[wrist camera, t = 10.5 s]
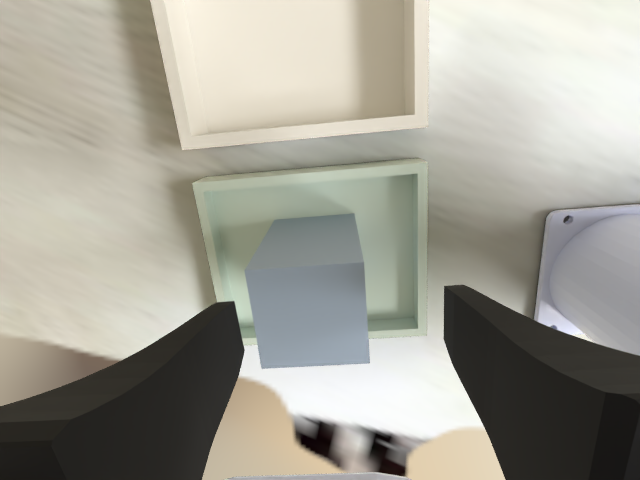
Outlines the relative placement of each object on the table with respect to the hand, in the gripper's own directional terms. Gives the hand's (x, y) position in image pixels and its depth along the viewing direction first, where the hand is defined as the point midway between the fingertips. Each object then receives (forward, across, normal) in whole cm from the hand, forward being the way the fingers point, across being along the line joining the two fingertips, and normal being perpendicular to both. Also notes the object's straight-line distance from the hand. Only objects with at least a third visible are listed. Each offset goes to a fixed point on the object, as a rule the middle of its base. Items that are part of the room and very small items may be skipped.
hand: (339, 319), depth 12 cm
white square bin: (+9, +1, -12) cm, 15 cm away
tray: (+9, +1, +1) cm, 9 cm away
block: (+8, +1, +1) cm, 9 cm away
